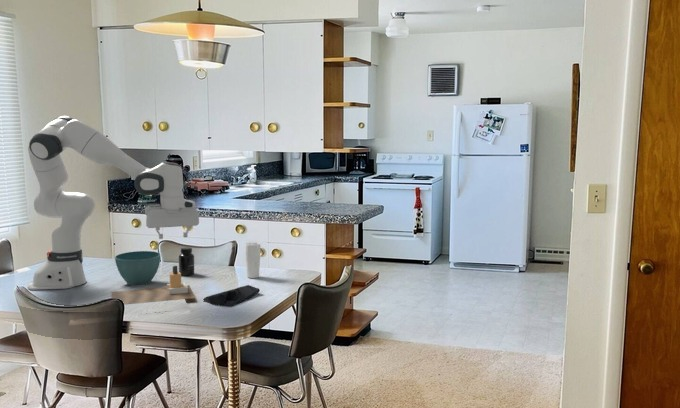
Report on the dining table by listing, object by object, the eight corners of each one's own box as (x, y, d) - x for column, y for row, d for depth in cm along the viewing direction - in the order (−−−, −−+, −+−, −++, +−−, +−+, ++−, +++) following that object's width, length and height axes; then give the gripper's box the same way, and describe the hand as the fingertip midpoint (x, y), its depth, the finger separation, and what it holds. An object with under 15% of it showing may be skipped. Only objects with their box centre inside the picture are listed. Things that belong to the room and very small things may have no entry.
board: (111, 309, 226) (111, 305, 226) (111, 295, 245) (111, 291, 245) (195, 301, 237) (195, 297, 237) (189, 288, 255) (189, 285, 255)
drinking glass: (262, 275, 279) (261, 242, 277) (258, 279, 272) (258, 245, 270) (247, 275, 279) (247, 242, 277) (243, 278, 273) (243, 245, 271)
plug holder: (169, 294, 242) (168, 289, 241) (167, 288, 250) (166, 284, 249) (187, 292, 244) (187, 287, 244) (185, 287, 252) (185, 282, 252)
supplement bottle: (192, 276, 277) (191, 249, 275) (177, 276, 277) (176, 249, 275) (196, 272, 284) (195, 246, 282) (181, 272, 284) (180, 246, 282)
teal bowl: (147, 290, 253) (146, 260, 252) (107, 287, 257) (106, 258, 255) (168, 279, 271) (167, 251, 269) (130, 277, 274) (129, 250, 273)
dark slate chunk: (266, 295, 248) (266, 283, 247) (228, 309, 229) (228, 296, 229) (237, 290, 256) (237, 278, 255) (198, 302, 237) (198, 290, 237)
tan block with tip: (171, 292, 244) (170, 267, 243) (170, 290, 248) (169, 265, 246) (181, 291, 245) (180, 266, 244) (180, 289, 249) (179, 264, 248)
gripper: (145, 205, 238) (146, 240, 240) (199, 203, 246) (200, 237, 247) (144, 203, 244) (145, 238, 246) (196, 201, 252) (197, 234, 253)
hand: (173, 237), depth 247 cm, fingers open, 8 cm apart
